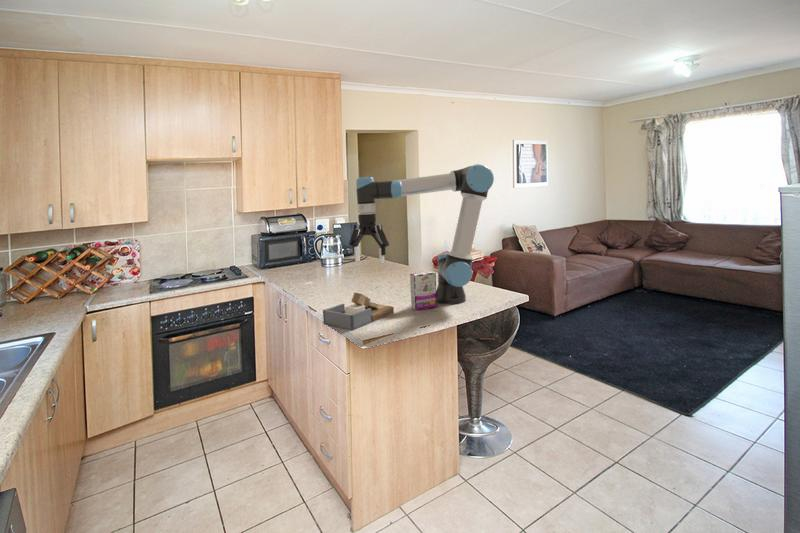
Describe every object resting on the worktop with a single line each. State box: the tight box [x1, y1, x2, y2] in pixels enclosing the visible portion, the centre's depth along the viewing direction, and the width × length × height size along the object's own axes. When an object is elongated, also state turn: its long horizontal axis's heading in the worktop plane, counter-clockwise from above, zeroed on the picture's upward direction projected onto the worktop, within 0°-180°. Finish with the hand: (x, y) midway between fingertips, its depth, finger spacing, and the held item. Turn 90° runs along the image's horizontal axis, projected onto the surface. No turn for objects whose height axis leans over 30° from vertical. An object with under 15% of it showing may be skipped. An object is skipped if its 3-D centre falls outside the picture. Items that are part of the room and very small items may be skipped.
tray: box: [322, 303, 373, 331], centre depth 180 cm, size 16×12×6 cm
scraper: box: [351, 292, 380, 309], centre depth 188 cm, size 10×4×11 cm
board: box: [365, 303, 395, 323], centre depth 191 cm, size 16×15×3 cm
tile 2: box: [345, 303, 365, 314], centre depth 184 cm, size 6×6×3 cm
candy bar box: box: [409, 270, 438, 311], centre depth 199 cm, size 11×5×16 cm, turn 114°
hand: (369, 262), depth 191 cm, fingers open, 13 cm apart
